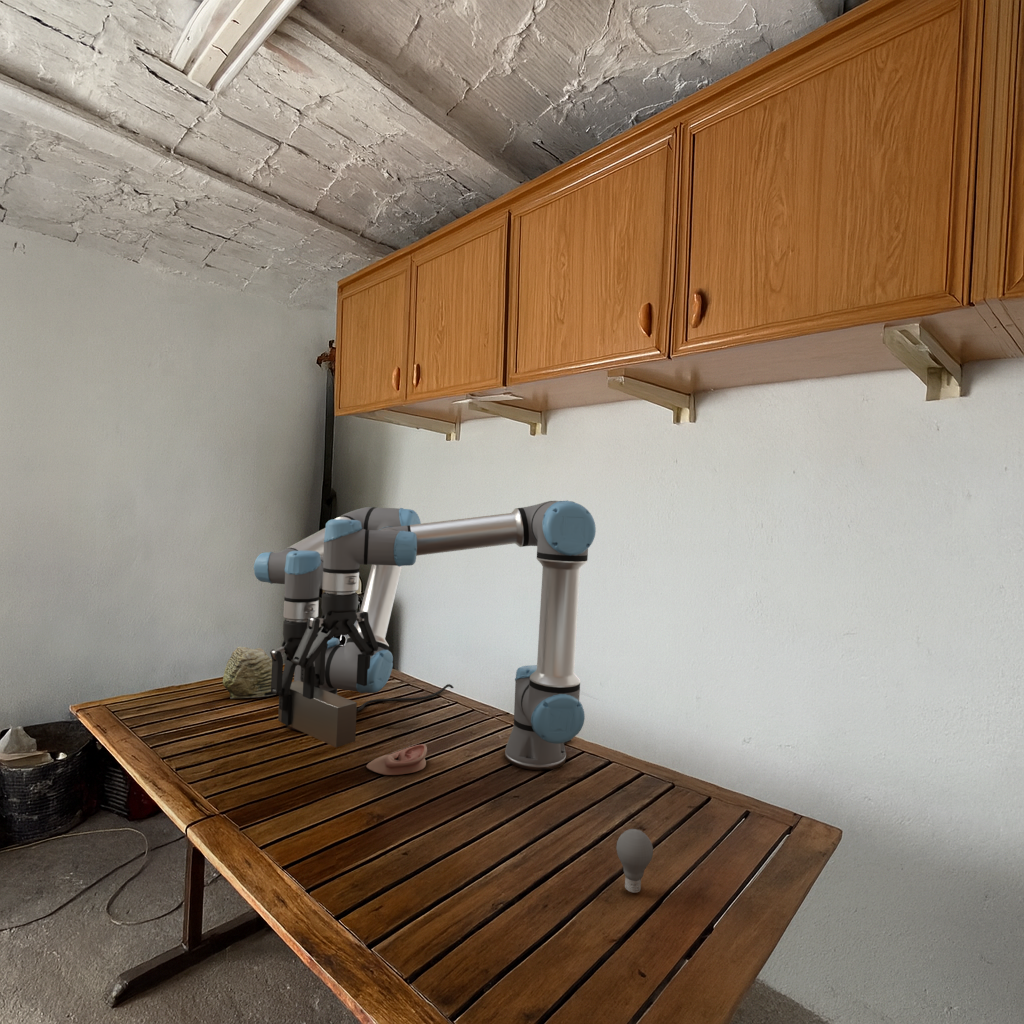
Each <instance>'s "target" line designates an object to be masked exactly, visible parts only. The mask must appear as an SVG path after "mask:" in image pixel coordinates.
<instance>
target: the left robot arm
mask: <svg viewBox="0 0 1024 1024" xmlns="http://www.w3.org/2000/svg"><path fill="white" fill-rule="evenodd" d="M334 519H345V520H358V521H360V522H361V526H362V529H365V530H380V529H382V528H383V527H390V526H392V527H398V526H409V525H415V524H422V522H421V518H420V516H419V514H418V513H417V512H416V510H413V509H410V508H404V507H399V508H396V507H378V506H377V507H375V506H366V507H361V508H357V509H354V510H351V511H349V512H346V513H343V514H341V515H340V516H337V517H336V518H334ZM324 537H325V527H324V528H322V529H320V530H318V531H316V532H315V533H312V534H311V535H309V536H307V537H304V538H302V539H301V540H299V541H297V542H296V543H294V544H292V545H290V546H288V547H286V548H284V549H282V550H280V551H277V552H274V551H269V552H267V551H265V552H262V553H260V554H259V555H258V556H257V557H256V558H255V560H254V564H253V571H254V572H253V573H254V576H255V578H256V579H257V580H258V581H259V582H262V583H268V584H271V585H272V584H273V585H274V584H277V585H284V600H283V614H282V615H283V616H282V617H283V618H284V620H283V623H282V637H283V641H282V643H281V646H280V647H277V648H276V649H274V648H273V649H271V650H270V651H269V655H270V658H271V659H272V676H271V693H274V694H276V695H277V696H278V710H279V709H280V710H282V715H281V722H280V723H282V724H284V725H285V726H286V728H287V729H289V730H291V731H294V732H295V731H296V732H300V731H299V730H297V729H295V728H293V727H291V726H288V725H291V708H292V696H291V695H289V691H290V687H291V683H292V682H294V681H301V680H300V677H301V666H299V665H296V664H294V663H292V659H293V657H294V655H295V653H296V651H297V648H298V646H299V644H300V642H301V640H302V637H303V635H304V633H305V631H306V629H307V624H308V618H309V617H315V618H319V605H320V604H319V603H320V590H323V589H322V579H323V557H324ZM402 568H403V566H394V565H371V567H370V570H369V574H368V578H367V583H366V586H365V590H364V593H363V599H362V602H361V606H360V610H361V611H365V612H368V618H369V624H370V626H371V629H372V632H373V634H374V637H375V639H376V642H377V645H378V650H377V651H374V655H373V656H370V668H369V669H368V672H367V685H366V686H363V685H360V684H357V661H358V654H362V653H361V652H360V650H359V649H358V647H357V646H356V645H355V643H354V642H353V641H352V639H351V638H350V637H349V636H348V637H347V638H346V641H345V645H341V641H340V639H339V638H338V637H332V639H331V640H329V641H328V642H327V643H326V645H325V646H324V648H323V649H322V651H321V652H320V654H319V655H318V656H317V658H316V659H315V661H314V662H313V664H312V665H311V666H314V667H315V675H314V687H317V688H320V689H322V690H325V691H328V692H330V693H333V694H336V695H338V690H342V691H351V692H358V693H361V694H364V693H367V694H374V693H375V694H376V693H378V692H380V691H381V690H382V689H383V688H384V687H385V686H386V684H387V683H388V681H389V679H390V677H391V675H392V671H393V668H394V667H393V666H394V663H393V661H394V657H393V653H392V652H391V651H390V650H389V649H390V645H389V643H388V642H387V640H386V636H387V633H388V628H389V624H390V621H391V620H390V619H391V616H392V611H393V607H394V603H395V599H396V594H397V590H398V585H399V581H400V578H401V574H402V573H401V572H402ZM355 627H356V628H357V630H358V631H359V632H358V633H359V634H360V635H361V637H362V638H363V639H364V637H363V635H362V632H361V630H360V627H359V625H358V621H357V620H356V625H355ZM317 635H318V633H317ZM316 638H317V636H316V637H315V639H316ZM364 641H365V640H364ZM284 657H285V658H284ZM283 658H284V659H283ZM447 688H450V689H454V686H453V685H452V684H450V683H447V684H446V685H445V686H443V687H442V688H441V689H440V690H438V691H436V692H434V693H431V694H428V695H424V696H418V697H397V698H396V697H395V698H376V699H370V700H367V701H365V702H364V703H363V704H361V706H359V707H357V711H356V712H360V711H362V710H363V709H364V708H365V707H366V706H367V705H369V704H372V703H381V702H382V703H383V702H406V701H409V702H411V701H421V700H426V699H430V698H432V697H433V698H434V697H436V696H438V695H440V694H442V693H443V692H444V691H445V690H446V689H447Z"/></svg>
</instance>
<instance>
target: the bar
mask: <svg viewBox="0 0 1024 1024" xmlns="http://www.w3.org/2000/svg"><path fill="white" fill-rule="evenodd" d="M289 695H291V696H292V708H291V725H288V726H291V727H293V728H295V729H297V730H299V731H298V732H301V733H304V734H306V735H308V736H310V737H312V738H315V739H317V740H319V741H321V742H323V743H324V744H325V743H326V744H327V745H329V746H331V747H334V748H339V747H342V746H345V745H348V744H351V743H355V742H356V733H357V712H358V711H357V708H358V707H357V706H358V702H357V701H354V700H352V699H349V698H346V697H344V696H341V695H338V694H337V695H336V694H333V693H330V692H328V691H325V690H322V689H320V688H317V687H314V698H313V699H308V698H306V697H303V682H301V681H294V680H293V681H292V683H291V687H290V691H289ZM277 713H278V717H277V721H278V722H279V723H282V722H281V715H282V710H280V709H279V708H278V712H277Z"/></svg>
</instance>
